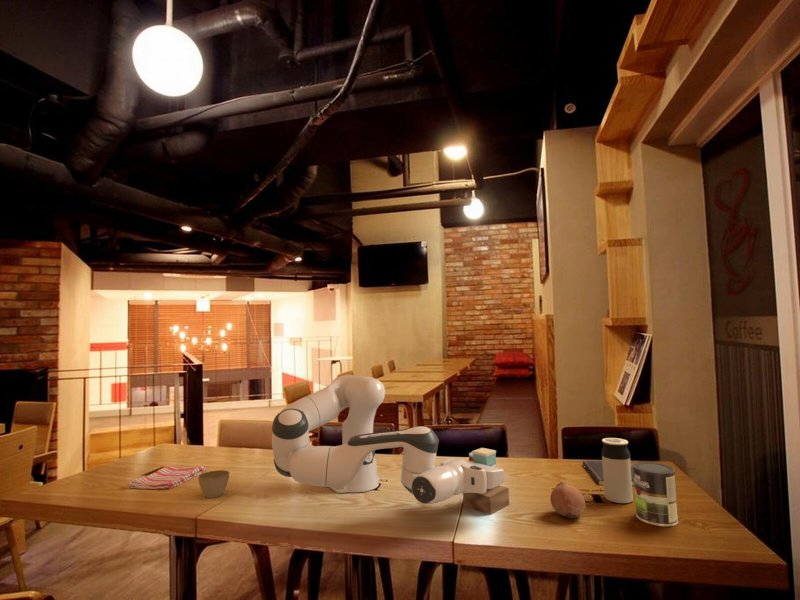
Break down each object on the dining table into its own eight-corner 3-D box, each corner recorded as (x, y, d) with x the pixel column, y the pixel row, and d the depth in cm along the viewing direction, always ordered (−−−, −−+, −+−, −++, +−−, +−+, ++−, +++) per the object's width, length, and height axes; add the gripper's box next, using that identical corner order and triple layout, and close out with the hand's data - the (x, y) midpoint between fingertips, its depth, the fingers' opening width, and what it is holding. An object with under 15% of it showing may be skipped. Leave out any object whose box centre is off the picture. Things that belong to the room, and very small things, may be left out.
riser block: (463, 505, 136) (462, 489, 137) (482, 496, 143) (481, 481, 144) (490, 514, 129) (490, 497, 129) (509, 504, 136) (508, 488, 136)
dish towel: (127, 490, 161) (127, 480, 161) (170, 470, 184) (170, 462, 184) (169, 491, 159) (169, 481, 159) (207, 471, 182) (207, 462, 182)
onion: (559, 521, 130) (549, 485, 135) (592, 516, 127) (580, 479, 132) (553, 521, 122) (543, 483, 128) (587, 516, 119) (576, 476, 124)
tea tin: (473, 484, 137) (472, 451, 137) (483, 480, 140) (482, 447, 141) (487, 488, 133) (486, 453, 134) (497, 483, 137) (495, 450, 137)
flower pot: (235, 491, 155) (235, 470, 156) (215, 502, 146) (215, 479, 146) (212, 489, 158) (212, 468, 159) (191, 499, 149) (191, 477, 149)
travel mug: (605, 502, 135) (602, 442, 137) (603, 493, 143) (600, 437, 144) (634, 505, 133) (630, 444, 134) (631, 496, 140) (627, 438, 142)
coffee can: (651, 528, 117) (647, 473, 118) (628, 512, 128) (625, 462, 129) (687, 525, 118) (683, 471, 119) (662, 510, 128) (658, 461, 130)
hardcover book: (626, 467, 171) (625, 461, 171) (648, 488, 148) (648, 480, 148) (582, 466, 173) (582, 460, 174) (598, 486, 151) (598, 479, 151)
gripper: (432, 479, 135) (460, 468, 145) (488, 495, 121) (515, 482, 130) (431, 458, 136) (459, 449, 145) (487, 471, 121) (514, 460, 131)
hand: (486, 465), depth 138 cm, fingers closed on tea tin, 5 cm apart
